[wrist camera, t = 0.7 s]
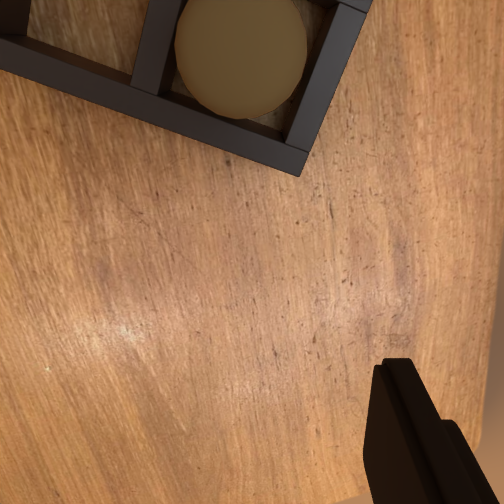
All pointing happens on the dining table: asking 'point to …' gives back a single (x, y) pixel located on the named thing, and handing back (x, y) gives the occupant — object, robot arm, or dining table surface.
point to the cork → (241, 54)
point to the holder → (180, 106)
